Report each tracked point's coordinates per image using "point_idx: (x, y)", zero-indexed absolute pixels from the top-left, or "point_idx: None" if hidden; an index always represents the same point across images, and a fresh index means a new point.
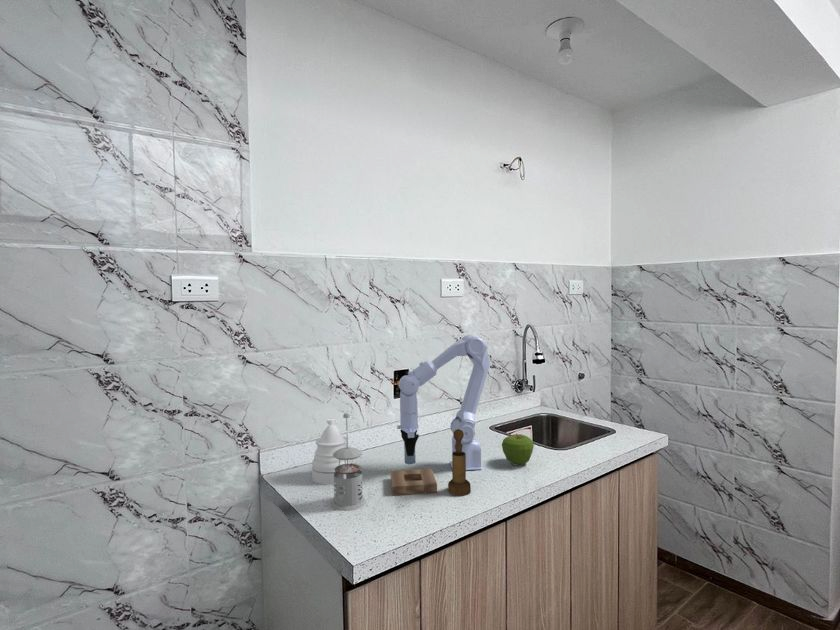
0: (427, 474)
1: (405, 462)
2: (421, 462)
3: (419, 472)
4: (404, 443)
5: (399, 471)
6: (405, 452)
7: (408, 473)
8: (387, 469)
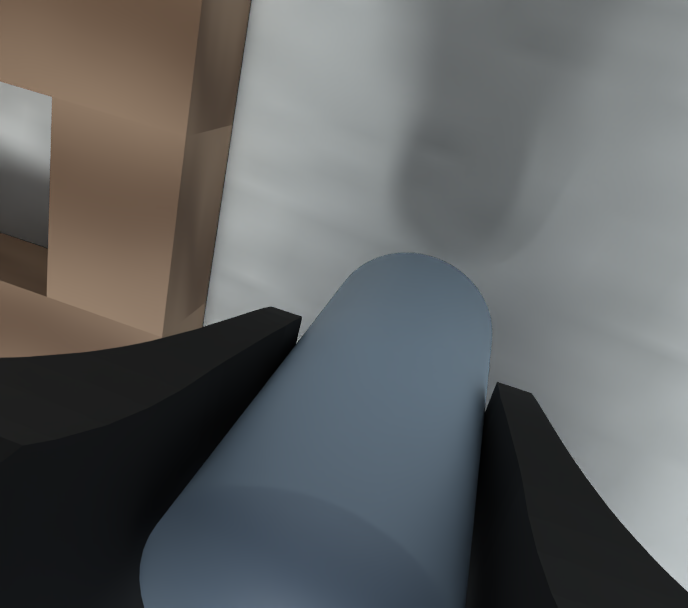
0: (11, 348)
1: (385, 258)
2: (628, 508)
3: (79, 299)
4: (323, 409)
5: (162, 73)
6: (342, 321)
7: (72, 167)
8: (635, 2)
